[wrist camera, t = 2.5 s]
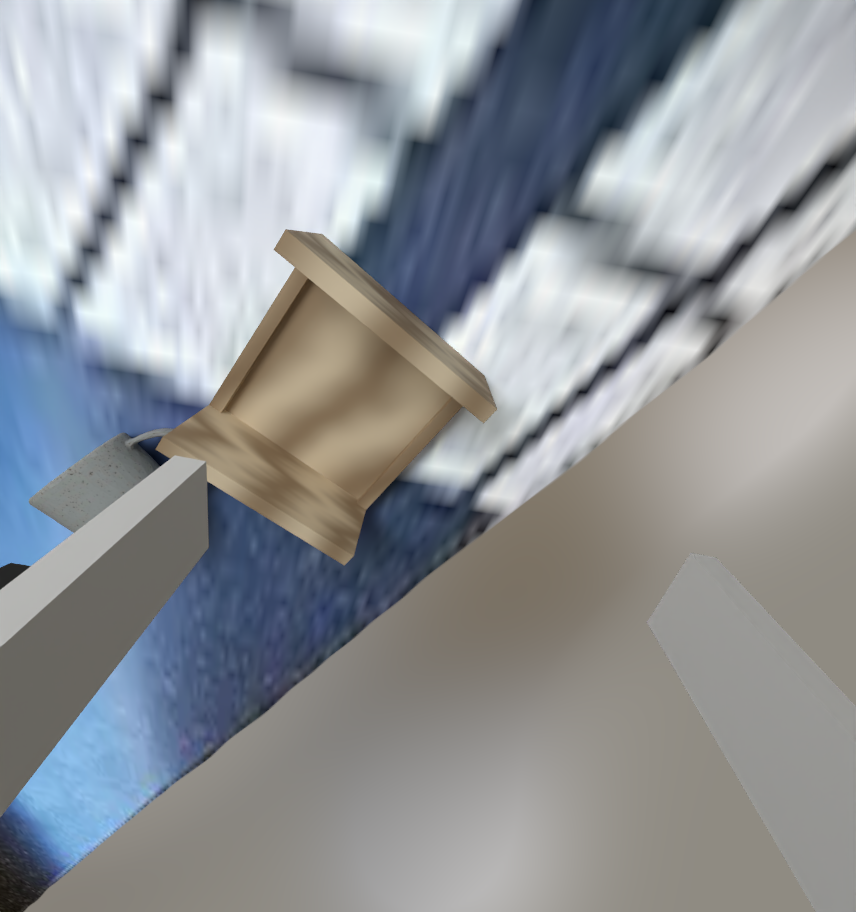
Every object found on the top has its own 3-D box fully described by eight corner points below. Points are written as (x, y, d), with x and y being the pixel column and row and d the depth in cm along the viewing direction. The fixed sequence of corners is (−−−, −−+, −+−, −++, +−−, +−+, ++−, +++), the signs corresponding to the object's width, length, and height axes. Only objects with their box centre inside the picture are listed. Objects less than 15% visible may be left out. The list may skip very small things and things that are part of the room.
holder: (211, 409, 33) (155, 449, 27) (322, 234, 27) (285, 229, 21) (360, 508, 38) (344, 565, 31) (484, 375, 32) (497, 409, 25)
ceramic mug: (159, 526, 39) (101, 585, 32) (84, 464, 36) (2, 514, 29) (237, 470, 36) (192, 521, 29) (163, 398, 33) (93, 436, 26)
